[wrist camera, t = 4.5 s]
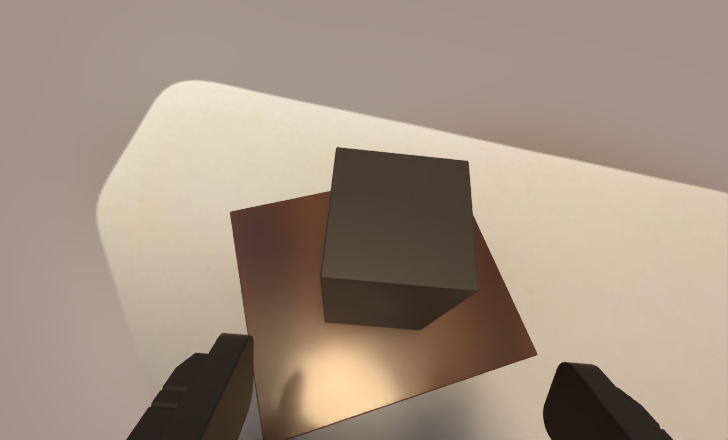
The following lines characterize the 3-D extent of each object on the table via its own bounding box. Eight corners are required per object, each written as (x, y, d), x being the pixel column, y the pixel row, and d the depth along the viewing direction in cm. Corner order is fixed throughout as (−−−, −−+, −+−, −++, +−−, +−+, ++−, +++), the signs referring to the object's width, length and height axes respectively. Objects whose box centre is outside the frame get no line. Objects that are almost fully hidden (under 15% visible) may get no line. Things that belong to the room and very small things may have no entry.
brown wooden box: (279, 434, 20) (264, 447, 15) (248, 244, 25) (229, 211, 20) (497, 361, 23) (538, 354, 18) (431, 202, 27) (450, 165, 23)
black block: (421, 330, 18) (479, 291, 11) (324, 322, 18) (319, 277, 11) (420, 241, 20) (469, 160, 13) (334, 233, 20) (336, 146, 13)
